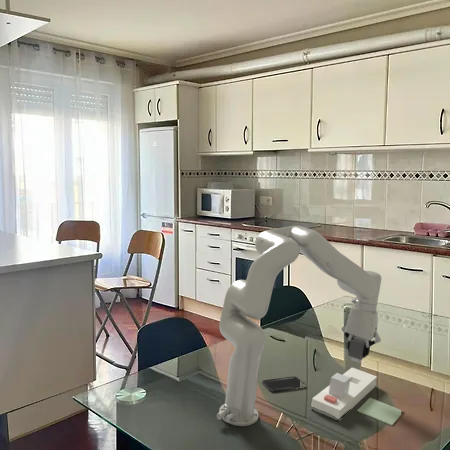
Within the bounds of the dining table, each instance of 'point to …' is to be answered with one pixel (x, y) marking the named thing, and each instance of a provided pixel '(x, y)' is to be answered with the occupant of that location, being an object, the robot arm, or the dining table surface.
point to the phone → (282, 384)
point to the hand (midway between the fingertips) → (357, 353)
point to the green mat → (380, 411)
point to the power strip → (357, 391)
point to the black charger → (356, 349)
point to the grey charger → (339, 385)
